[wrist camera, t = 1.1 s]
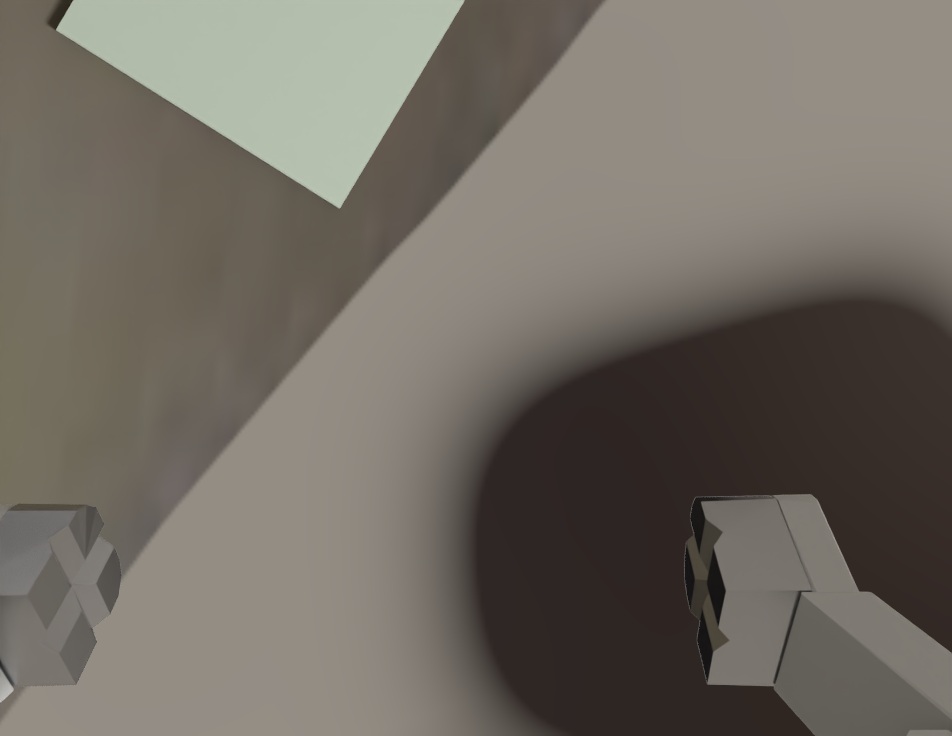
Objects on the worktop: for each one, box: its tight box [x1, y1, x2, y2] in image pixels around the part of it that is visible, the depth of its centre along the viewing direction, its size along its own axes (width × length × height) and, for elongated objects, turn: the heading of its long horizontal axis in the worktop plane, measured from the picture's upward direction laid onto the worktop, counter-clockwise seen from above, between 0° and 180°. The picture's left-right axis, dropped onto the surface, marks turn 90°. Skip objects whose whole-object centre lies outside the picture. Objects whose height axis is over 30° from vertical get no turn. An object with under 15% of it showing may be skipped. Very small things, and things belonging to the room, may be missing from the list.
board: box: [56, 0, 465, 209], centre depth 37 cm, size 14×12×1 cm
